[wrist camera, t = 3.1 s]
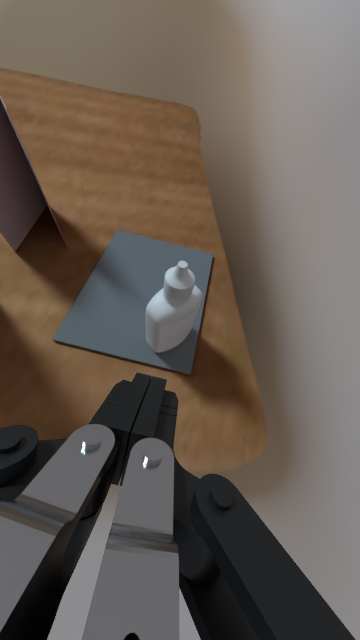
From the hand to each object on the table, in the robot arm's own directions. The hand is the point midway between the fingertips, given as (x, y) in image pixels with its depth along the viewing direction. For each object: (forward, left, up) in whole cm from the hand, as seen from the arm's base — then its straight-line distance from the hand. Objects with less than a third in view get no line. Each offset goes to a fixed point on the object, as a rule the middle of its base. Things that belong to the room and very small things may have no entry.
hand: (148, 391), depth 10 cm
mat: (-5, +15, -12) cm, 20 cm away
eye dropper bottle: (0, +9, -12) cm, 15 cm away
